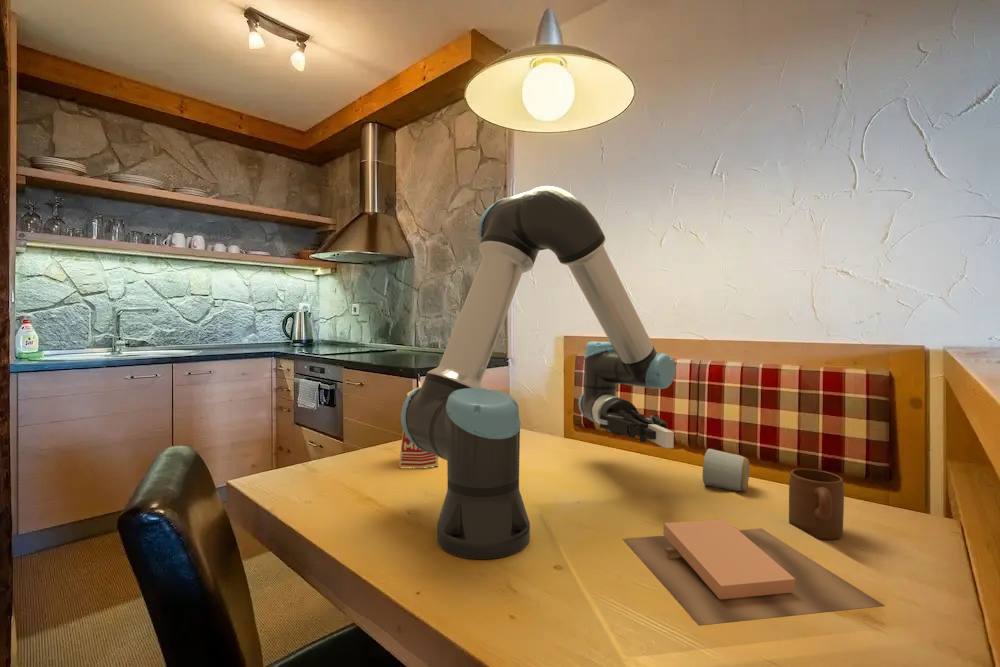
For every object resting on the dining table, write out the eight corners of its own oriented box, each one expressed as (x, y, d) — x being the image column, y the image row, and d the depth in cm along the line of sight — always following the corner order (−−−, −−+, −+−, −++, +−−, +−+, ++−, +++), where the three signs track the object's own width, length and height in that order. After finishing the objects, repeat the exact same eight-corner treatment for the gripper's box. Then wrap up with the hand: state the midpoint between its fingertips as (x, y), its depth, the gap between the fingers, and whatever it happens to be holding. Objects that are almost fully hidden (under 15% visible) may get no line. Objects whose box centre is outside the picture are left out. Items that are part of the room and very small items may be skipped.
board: (698, 635, 52) (699, 614, 52) (622, 546, 73) (622, 531, 73) (884, 615, 56) (885, 595, 56) (761, 535, 77) (761, 521, 77)
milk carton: (402, 459, 119) (401, 380, 119) (438, 457, 120) (438, 380, 120) (398, 470, 110) (397, 385, 110) (438, 469, 111) (437, 385, 111)
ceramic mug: (745, 497, 94) (746, 458, 94) (701, 489, 98) (702, 452, 98) (751, 483, 102) (752, 447, 102) (711, 476, 107) (711, 442, 107)
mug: (856, 558, 70) (857, 495, 69) (796, 547, 73) (797, 487, 73) (836, 525, 81) (838, 471, 80) (785, 518, 84) (786, 465, 84)
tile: (663, 536, 71) (719, 601, 57) (664, 523, 70) (721, 585, 57) (724, 531, 72) (793, 594, 58) (725, 518, 72) (795, 579, 58)
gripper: (642, 431, 104) (704, 461, 80) (585, 431, 102) (632, 462, 78) (643, 397, 104) (705, 417, 80) (586, 397, 102) (633, 417, 78)
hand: (669, 440), depth 79 cm, fingers closed
